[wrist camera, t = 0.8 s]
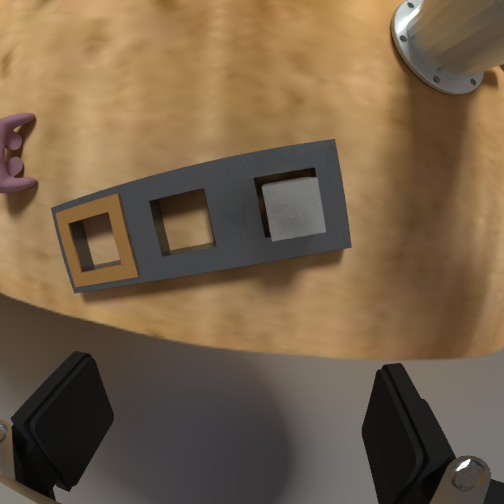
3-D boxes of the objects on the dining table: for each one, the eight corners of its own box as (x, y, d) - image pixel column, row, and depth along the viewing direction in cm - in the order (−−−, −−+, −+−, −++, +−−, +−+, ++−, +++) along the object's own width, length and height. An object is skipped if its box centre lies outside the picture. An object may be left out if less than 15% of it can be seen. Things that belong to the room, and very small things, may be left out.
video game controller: (26, 119, 30) (-18, 123, 24) (37, 109, 28) (-12, 112, 22) (29, 190, 33) (-16, 199, 27) (39, 186, 30) (-11, 196, 24)
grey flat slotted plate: (329, 141, 28) (335, 138, 25) (345, 241, 30) (352, 248, 28) (63, 205, 31) (49, 208, 28) (85, 285, 33) (72, 294, 31)
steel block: (305, 176, 29) (317, 177, 21) (312, 217, 30) (326, 232, 22) (264, 183, 29) (261, 187, 22) (271, 224, 30) (272, 241, 23)
